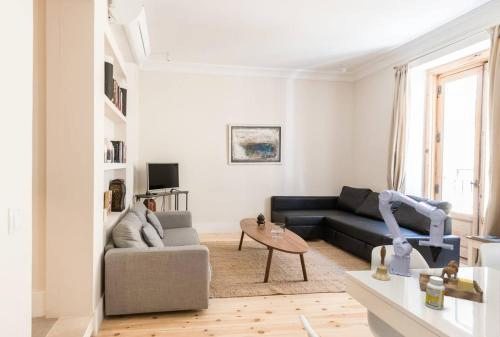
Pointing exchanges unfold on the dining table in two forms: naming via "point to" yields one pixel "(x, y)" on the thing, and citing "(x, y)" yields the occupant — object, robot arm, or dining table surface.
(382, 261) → the hand bell
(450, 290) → the walnut lane
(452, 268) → the lion figurine
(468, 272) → the dining table surface
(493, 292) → the dining table surface
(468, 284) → the ochre block
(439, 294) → the supplement bottle
